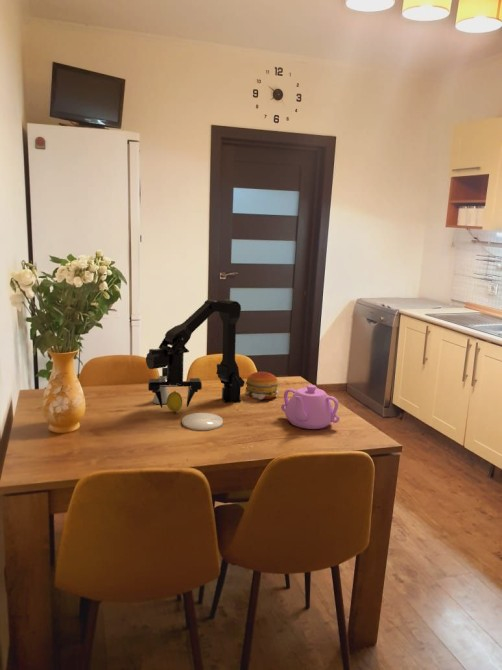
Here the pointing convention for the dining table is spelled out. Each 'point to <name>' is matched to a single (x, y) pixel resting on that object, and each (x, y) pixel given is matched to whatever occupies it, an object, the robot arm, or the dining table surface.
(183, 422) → the plate
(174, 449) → the dining table surface
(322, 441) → the dining table surface
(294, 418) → the teapot
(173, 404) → the lemon
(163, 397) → the flask
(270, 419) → the dining table surface
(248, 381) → the burger
